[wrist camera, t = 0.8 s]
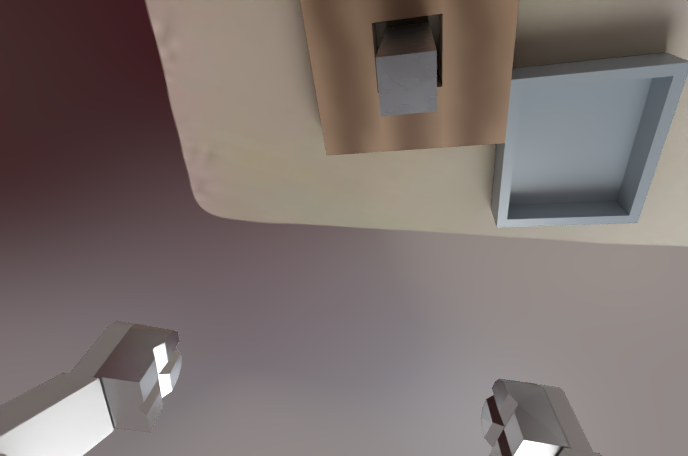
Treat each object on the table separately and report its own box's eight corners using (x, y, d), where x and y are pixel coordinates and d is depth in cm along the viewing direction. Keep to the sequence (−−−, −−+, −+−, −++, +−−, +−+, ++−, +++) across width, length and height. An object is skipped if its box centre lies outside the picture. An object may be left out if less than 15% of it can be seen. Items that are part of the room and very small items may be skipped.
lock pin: (428, 21, 37) (436, 50, 25) (429, 66, 39) (437, 111, 28) (386, 27, 37) (375, 57, 26) (389, 70, 40) (380, 116, 28)
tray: (665, 52, 35) (691, 62, 32) (620, 203, 44) (637, 223, 41) (502, 69, 38) (511, 79, 35) (490, 208, 47) (496, 227, 44)
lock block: (516, -86, 31) (528, -92, 28) (497, 128, 41) (505, 143, 38) (302, -49, 35) (291, -50, 32) (332, 141, 45) (326, 155, 42)
